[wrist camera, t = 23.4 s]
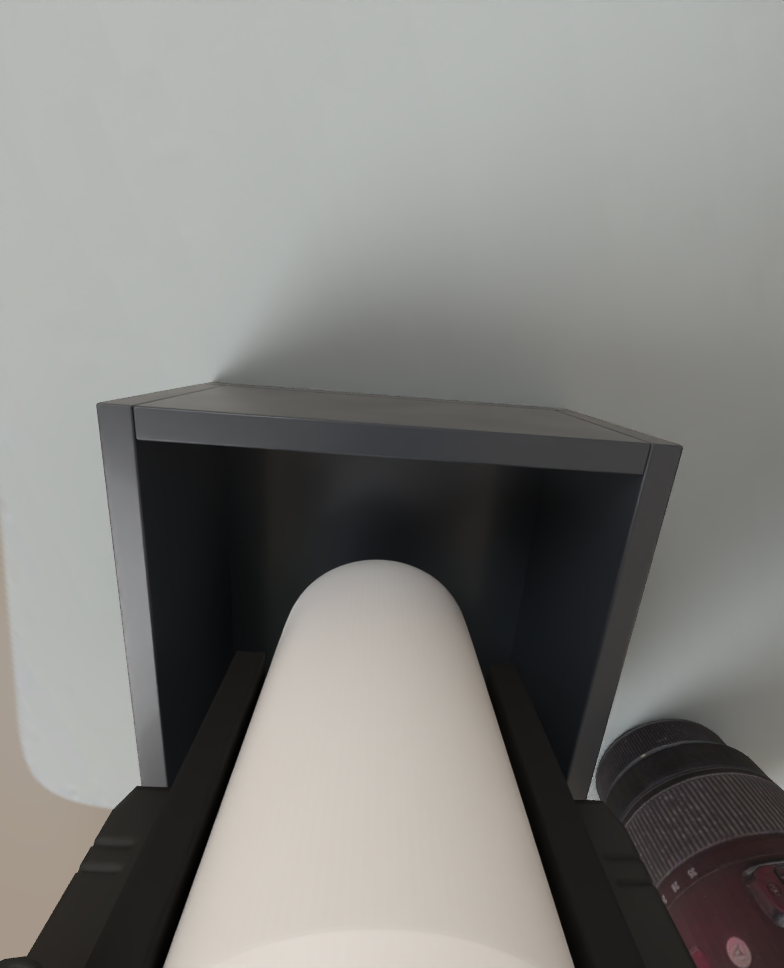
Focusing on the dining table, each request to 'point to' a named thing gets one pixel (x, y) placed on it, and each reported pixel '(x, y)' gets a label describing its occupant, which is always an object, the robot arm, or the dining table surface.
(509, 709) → the robot arm
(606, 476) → the box
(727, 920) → the camera lens
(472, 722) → the beverage can
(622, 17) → the dining table surface
